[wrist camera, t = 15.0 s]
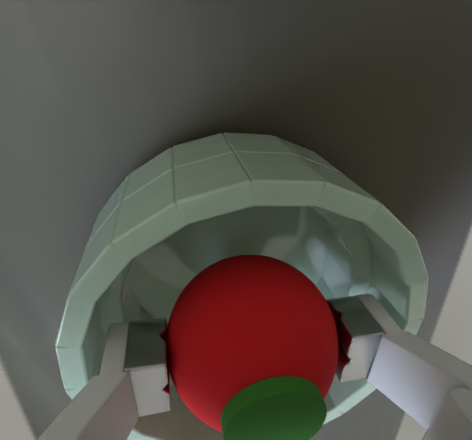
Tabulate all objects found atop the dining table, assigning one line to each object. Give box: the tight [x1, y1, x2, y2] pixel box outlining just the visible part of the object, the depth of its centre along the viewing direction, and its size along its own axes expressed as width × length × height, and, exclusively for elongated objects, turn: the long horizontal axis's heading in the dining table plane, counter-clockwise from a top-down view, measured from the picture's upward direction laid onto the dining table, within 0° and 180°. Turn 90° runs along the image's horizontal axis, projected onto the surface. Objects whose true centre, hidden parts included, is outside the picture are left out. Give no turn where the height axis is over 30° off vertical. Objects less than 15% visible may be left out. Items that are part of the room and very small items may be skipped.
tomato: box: [166, 255, 338, 440], centre depth 9 cm, size 5×5×5 cm
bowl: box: [55, 132, 429, 440], centre depth 11 cm, size 10×10×4 cm
